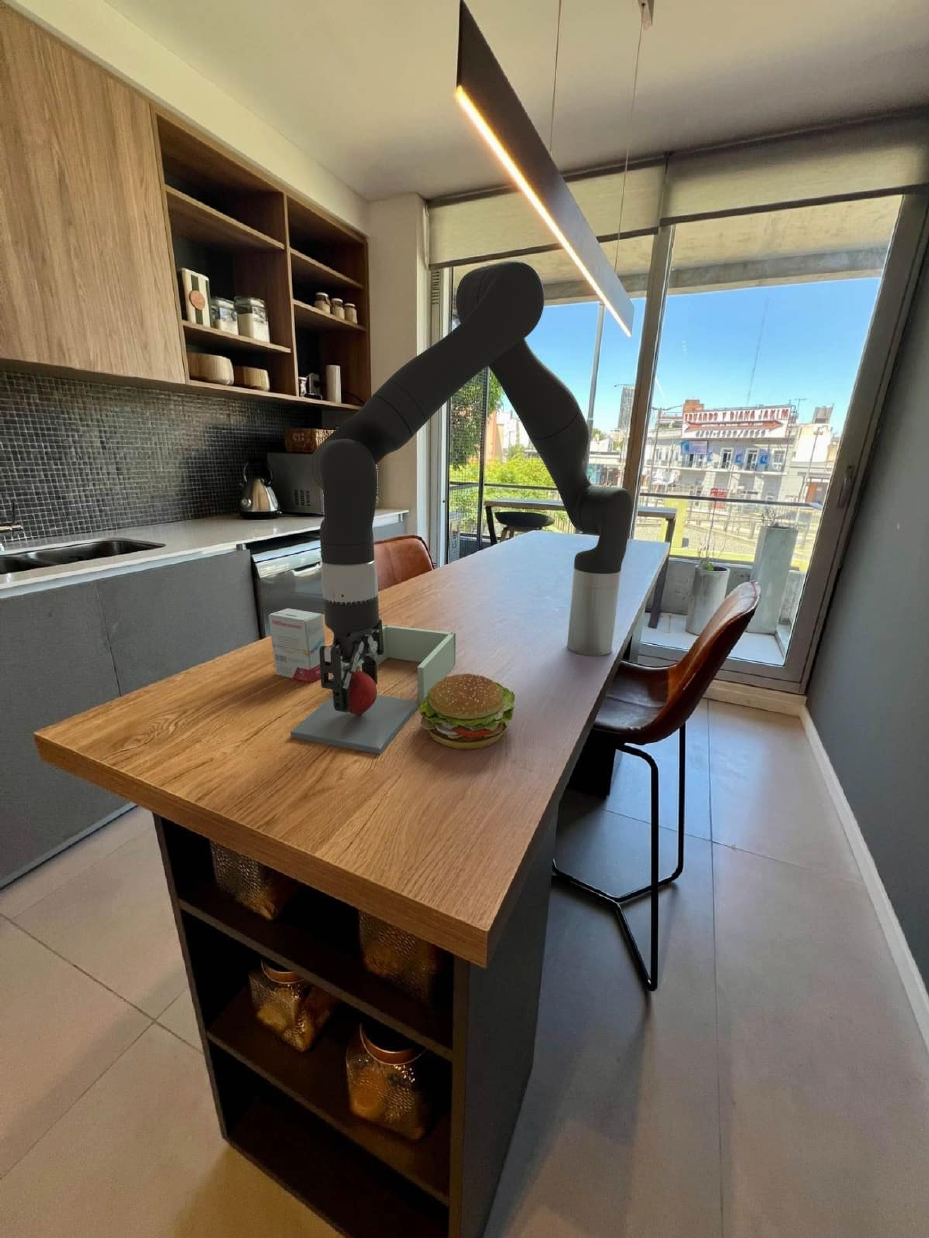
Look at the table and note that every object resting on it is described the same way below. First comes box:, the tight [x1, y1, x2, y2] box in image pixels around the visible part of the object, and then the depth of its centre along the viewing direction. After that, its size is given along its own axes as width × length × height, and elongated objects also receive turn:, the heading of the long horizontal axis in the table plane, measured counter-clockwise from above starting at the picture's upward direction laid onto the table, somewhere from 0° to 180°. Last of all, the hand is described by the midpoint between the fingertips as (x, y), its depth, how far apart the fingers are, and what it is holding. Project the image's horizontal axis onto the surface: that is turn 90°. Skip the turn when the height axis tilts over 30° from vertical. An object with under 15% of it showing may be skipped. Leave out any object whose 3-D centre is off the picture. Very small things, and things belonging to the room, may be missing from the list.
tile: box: [289, 694, 420, 756], centre depth 74 cm, size 14×14×1 cm
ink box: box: [268, 608, 326, 683], centre depth 88 cm, size 9×5×12 cm, turn 65°
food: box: [416, 673, 516, 750], centre depth 71 cm, size 14×14×8 cm
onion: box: [342, 665, 378, 715], centre depth 73 cm, size 6×6×8 cm
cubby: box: [341, 624, 457, 705], centre depth 88 cm, size 17×15×6 cm
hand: (357, 697), depth 73 cm, fingers open, 8 cm apart
